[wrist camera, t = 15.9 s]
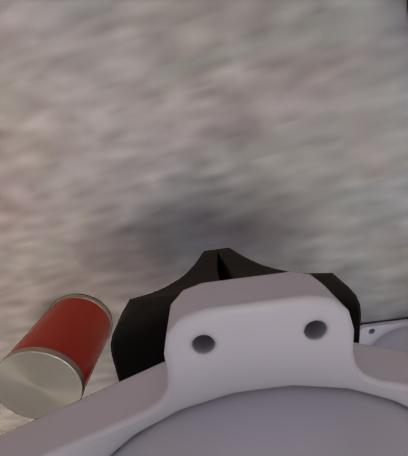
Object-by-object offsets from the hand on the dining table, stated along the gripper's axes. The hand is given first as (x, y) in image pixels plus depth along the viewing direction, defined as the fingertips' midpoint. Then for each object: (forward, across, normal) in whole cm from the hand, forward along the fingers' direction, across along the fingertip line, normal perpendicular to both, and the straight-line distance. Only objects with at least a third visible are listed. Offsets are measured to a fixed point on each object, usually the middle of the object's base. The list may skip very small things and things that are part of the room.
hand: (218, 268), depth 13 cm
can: (+7, +11, +6) cm, 15 cm away
